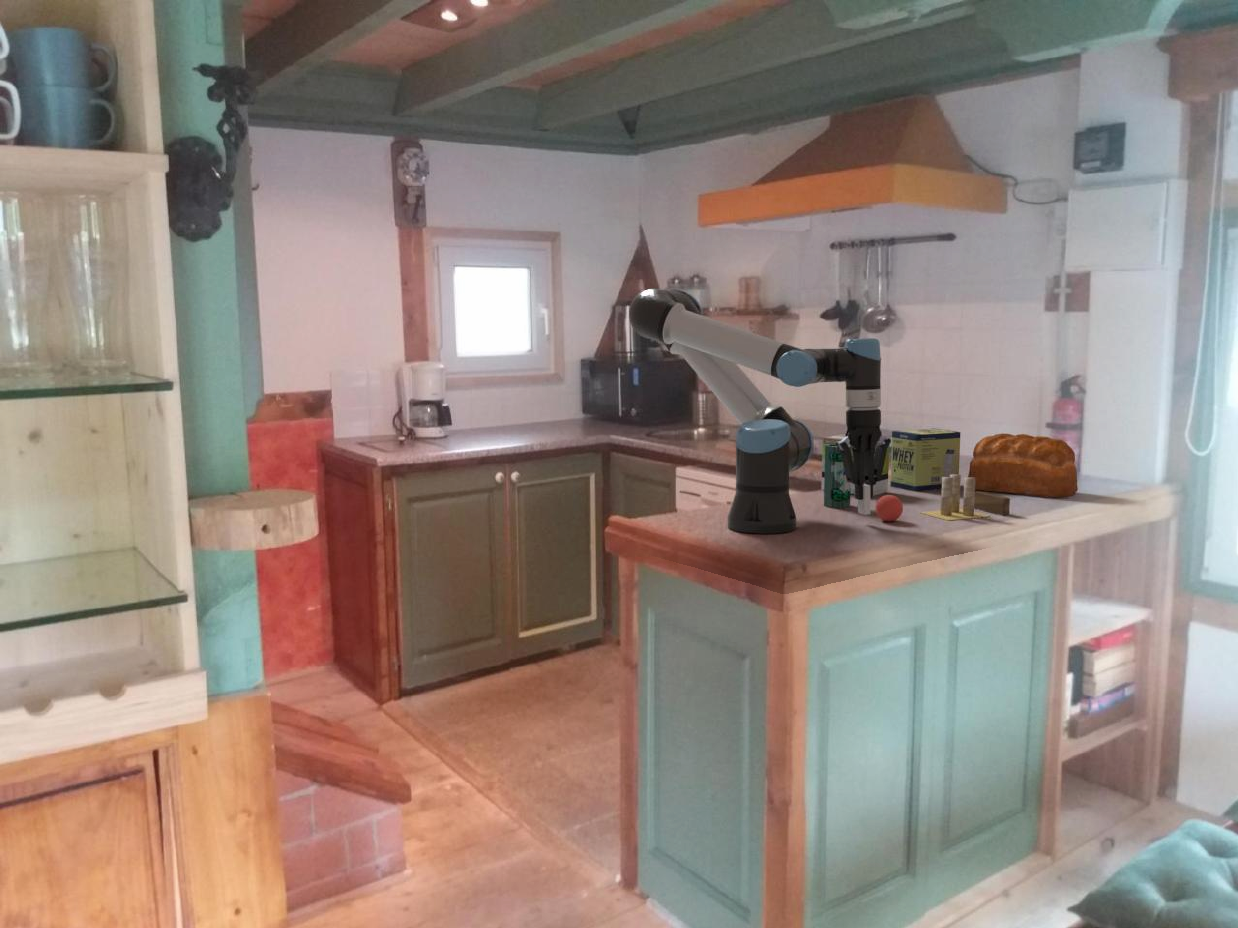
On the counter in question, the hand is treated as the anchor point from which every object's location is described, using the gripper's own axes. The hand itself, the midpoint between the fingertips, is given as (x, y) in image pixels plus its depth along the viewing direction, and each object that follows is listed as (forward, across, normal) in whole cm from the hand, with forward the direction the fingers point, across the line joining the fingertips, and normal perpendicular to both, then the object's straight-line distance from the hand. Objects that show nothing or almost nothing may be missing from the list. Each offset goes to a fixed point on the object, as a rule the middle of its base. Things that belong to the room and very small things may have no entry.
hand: (864, 513), depth 218 cm
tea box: (+2, +22, +39) cm, 45 cm away
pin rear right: (+3, +28, -1) cm, 28 cm away
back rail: (+3, +36, +2) cm, 37 cm away
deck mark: (+3, +26, +2) cm, 26 cm away
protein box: (+3, +44, +38) cm, 59 cm away
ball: (0, +7, +1) cm, 7 cm away
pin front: (+3, +23, +2) cm, 24 cm away
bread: (+4, +63, +23) cm, 67 cm away
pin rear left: (+3, +28, +4) cm, 28 cm away
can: (+2, +7, +22) cm, 23 cm away
